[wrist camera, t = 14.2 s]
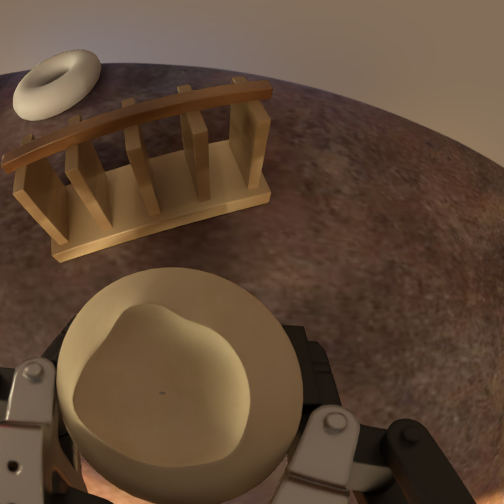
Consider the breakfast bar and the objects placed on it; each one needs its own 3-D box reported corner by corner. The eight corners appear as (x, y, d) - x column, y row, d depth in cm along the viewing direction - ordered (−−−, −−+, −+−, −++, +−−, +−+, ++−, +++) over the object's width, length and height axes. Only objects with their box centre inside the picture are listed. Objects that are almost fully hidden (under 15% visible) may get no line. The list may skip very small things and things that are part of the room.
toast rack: (59, 263, 16) (-7, 199, 9) (57, 200, 18) (10, 128, 11) (269, 202, 19) (291, 113, 12) (243, 147, 21) (253, 59, 14)
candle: (156, 444, 12) (57, 528, 3) (137, 337, 14) (17, 261, 5) (269, 427, 13) (351, 501, 4) (245, 320, 15) (282, 216, 6)
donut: (121, 67, 25) (54, 69, 25) (116, 41, 22) (47, 47, 22) (69, 130, 21) (3, 127, 21) (57, 101, 18) (-9, 105, 18)
